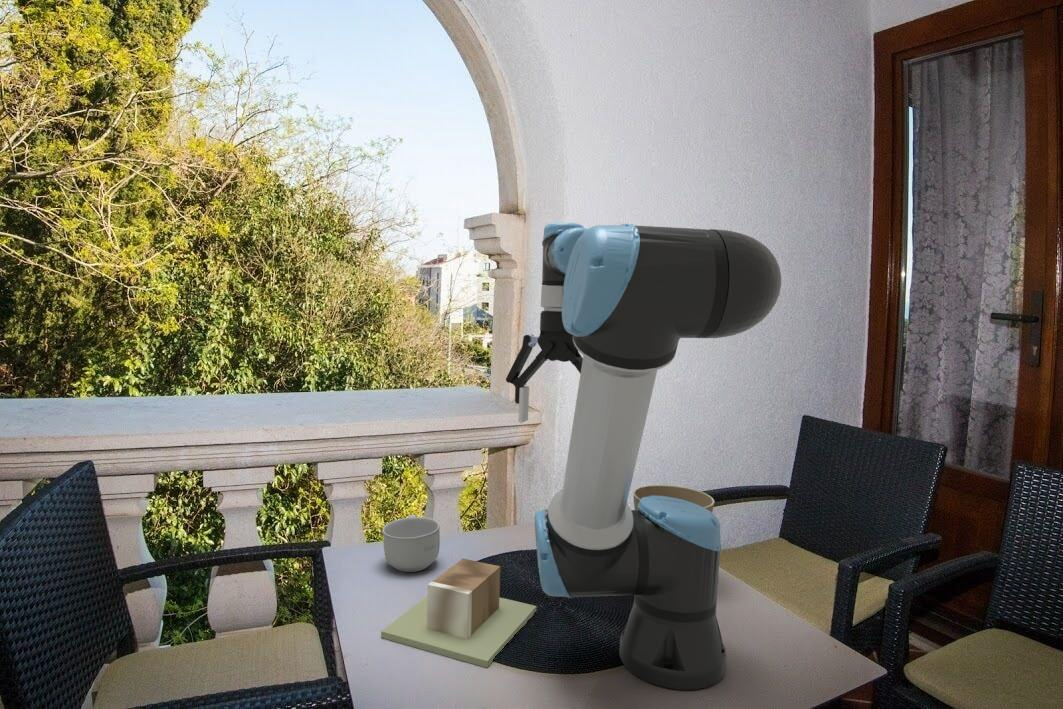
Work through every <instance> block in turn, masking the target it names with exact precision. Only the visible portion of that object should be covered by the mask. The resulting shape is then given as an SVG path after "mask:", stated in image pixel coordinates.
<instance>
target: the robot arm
mask: <svg viewBox="0 0 1063 709" xmlns="http://www.w3.org/2000/svg"><path fill="white" fill-rule="evenodd" d="M541 246H542V267H541V268H542V271H541V272H542V274H541V277H542V279H541V289H540V290H541V292H540V307H541V308H542V309H543V310H541V312H540V319H539V336H535V335H534V334H525V335H523V338H522V345H521V348H520V350H519V352H518V354H517V356H516V358H515V360H514V362H513V364H512V366H511V368H510V370H509V372H508V374H507V376H506V379H505V382H506V383H508V384H512V385H513V386H514V388H515V390H514V392H515V393H514V394H515V395H514V402H515V404H517V405H518V423H524V422H527V421H528V420H529V405H530V404H529V402H530V401H529V398H530V397H529V395H530V386H528V385H527V383H528V382H529V381H530V379H531V378H532V377H533V376H534V375H535V374H536V372H537V371H538V370H539V369H540V368H541V367H542V366H543V365H544V364H545V362H546V361H548V360H549V362H550V361H551V362H555V361H559V362H564V363H566V362H569V363H571V364H572V365H573V366H574V367H575V368H576V370H577V371H578V372H579V374H580V376H579V382H578V388H577V394H576V400H575V401H576V402H575V407H574V413H573V421H572V426H571V427H572V428H571V433H570V439H569V440H570V441H569V447H568V453H567V459H566V465H565V472H564V473H565V474H564V479H563V483H562V484H563V486H562V489H559V491H557V492H556V493H555V494H554V496H552V498H551V500H550V502H549V505H548V509H547V508H545V509H542V510H538V511H536V512H535V514H534V531H535V532H534V533H535V545H536V557H537V566H538V573H539V581H540V586H541V589H542V590H543V593H545V595H548V596H550V597H564V598H567V599H573V598H582V597H584V598H585V597H589V598H590V597H609V596H610V597H611V596H612V597H613V596H614V597H615V596H634V598H633V600H634V601H633V604H632V608H631V610H630V613H629V615H628V620H627V622H626V625H625V627H624V628H623V630H622V632H621V634H620V639H619V657H620V660H621V662H622V664H623V666H625V668H626V669H627V670H629V671H630V672H631V673H632V674H633V675H635V676H636V677H637V678H639V679H641V680H643V681H645V682H647V683H649V684H652V685H656V686H659V687H663V688H668V689H673V690H683V691H684V690H686V691H687V690H689V691H691V690H692V691H693V690H700V689H705V688H708V687H710V686H713V685H715V684H717V683H718V682H719V681H721V679H722V678H723V677H724V675H725V673H726V663H727V653H726V652H727V651H726V648H725V644H724V643H723V638H722V637H723V636H722V633H721V629H720V626H719V622H718V618H717V600H718V585H719V571H720V557H721V556H720V555H721V550H722V543H721V523H720V520H719V519H718V517H717V516H716V515H715V514H714V513H713V512H710V511H709V510H707V509H706V508H704V507H702V506H699V505H697V504H694V503H692V502H689V501H685V500H681V499H677V498H672V497H666V496H648V497H643V498H642V499H640V501H639V503H638V510H635V509H631V507H630V506H629V504H628V499H629V495H630V490H631V486H632V482H633V478H634V472H635V470H636V464H637V459H638V456H639V451H640V448H641V444H642V443H641V442H642V437H643V434H644V429H645V425H646V422H647V416H648V412H649V408H650V404H651V401H652V400H651V398H652V396H653V395H652V394H653V391H654V386H655V382H656V378H657V374H658V370H660V369H663V368H665V367H666V366H668V365H670V364H671V363H672V362H673V360H674V358H675V357H676V353H677V350H678V346H679V341H680V340H681V339H721V338H726V337H727V338H728V337H733V336H736V335H738V334H741V333H744V332H746V331H748V330H750V329H751V328H754V327H755V326H757V325H758V324H760V323H761V322H762V321H763V320H764V319H765V318H766V317H767V316H768V315H769V314H770V313H771V311H772V310H773V309H774V307H775V305H777V304H776V303H777V302H778V299H779V297H780V292H781V287H782V272H781V267H780V266H779V264H778V260H777V258H776V256H774V254H773V252H772V251H771V250H770V248H768V247H767V246H766V245H765V244H764V243H762V242H761V241H759V240H758V239H756V238H754V237H751V236H749V235H747V234H744V233H741V232H737V231H733V230H728V229H717V228H715V229H713V228H711V229H705V228H703V229H702V228H691V227H690V228H688V227H687V228H686V227H670V226H669V227H668V226H653V225H652V226H650V225H649V226H647V225H634V224H633V223H629V222H628V223H627V222H626V223H621V224H611V225H610V224H608V225H607V224H606V225H604V224H602V225H600V224H597V225H593V226H591V227H588V228H587V227H584V226H583V225H582V224H580V223H574V222H553V223H547V224H546V225H545V226H544V228H543V239H542V241H541ZM537 344H538V346H539V348H540V351H539V353H538V354H537V355H536V356H535V358H534V359H533V360H532V361H531V363H530V364H529V365H528V366H527V367H526V369H525V370H524V371H523V372H522V370H523V368H524V366H525V364H526V362H527V361H528V359H529V357H530V354H531V353H532V350H533V348H534V347H536V345H537ZM521 372H522V373H521Z"/></svg>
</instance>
